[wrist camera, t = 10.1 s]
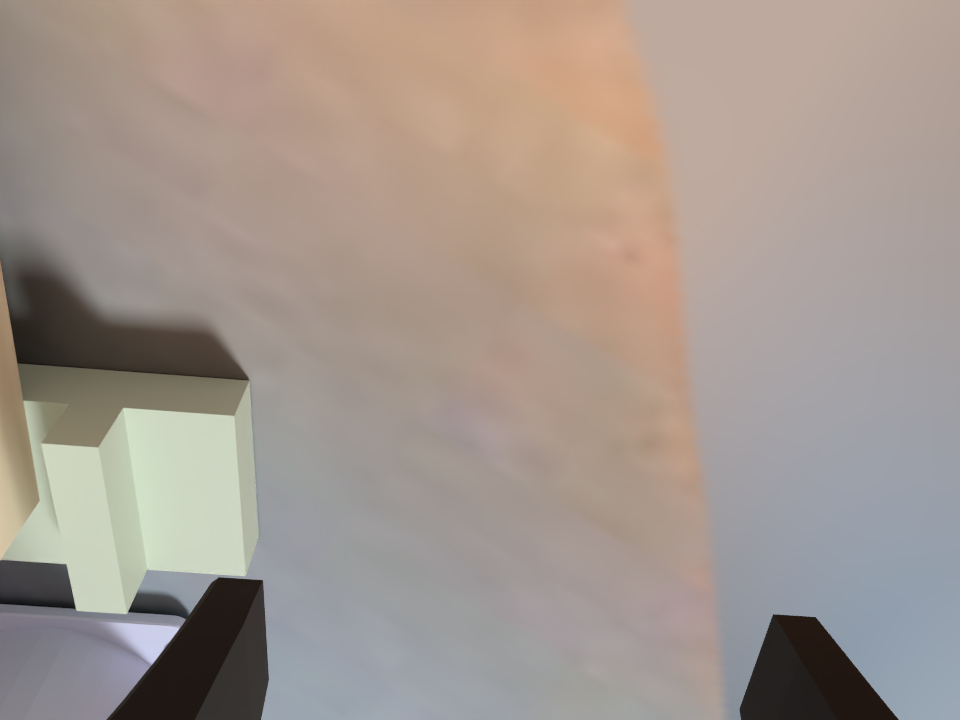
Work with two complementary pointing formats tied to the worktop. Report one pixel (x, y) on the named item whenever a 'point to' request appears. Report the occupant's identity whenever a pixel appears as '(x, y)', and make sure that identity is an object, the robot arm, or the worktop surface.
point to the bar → (13, 440)
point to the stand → (137, 478)
